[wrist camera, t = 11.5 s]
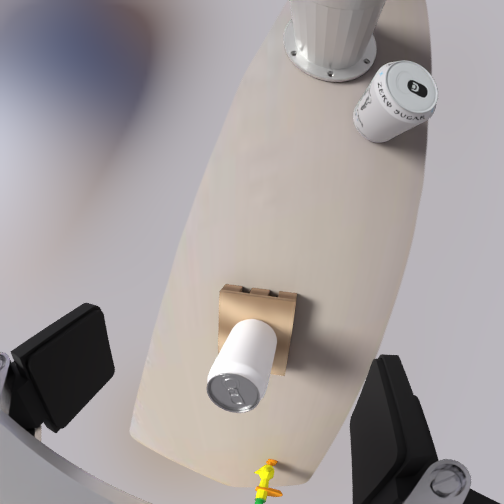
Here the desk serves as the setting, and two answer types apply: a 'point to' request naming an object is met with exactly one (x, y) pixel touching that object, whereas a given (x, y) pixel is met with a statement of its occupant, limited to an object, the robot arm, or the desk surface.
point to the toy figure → (266, 483)
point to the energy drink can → (395, 101)
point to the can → (243, 367)
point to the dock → (258, 317)
